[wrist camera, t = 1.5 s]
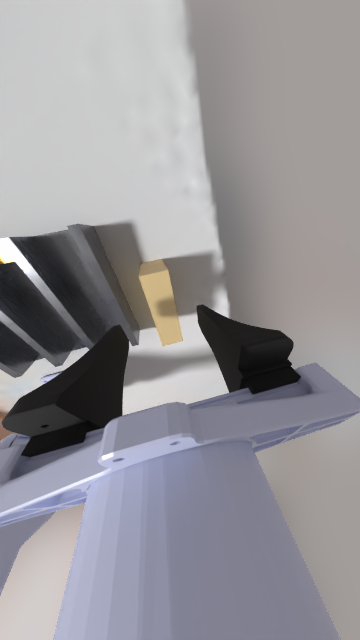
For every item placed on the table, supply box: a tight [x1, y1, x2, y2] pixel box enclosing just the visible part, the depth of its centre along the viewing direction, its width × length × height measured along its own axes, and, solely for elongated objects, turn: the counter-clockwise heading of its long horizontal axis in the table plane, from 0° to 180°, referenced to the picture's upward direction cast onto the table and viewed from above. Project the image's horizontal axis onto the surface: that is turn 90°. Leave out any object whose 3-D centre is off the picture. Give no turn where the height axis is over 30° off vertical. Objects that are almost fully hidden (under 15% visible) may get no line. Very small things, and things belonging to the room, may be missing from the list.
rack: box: [0, 224, 140, 378], centre depth 17 cm, size 16×19×4 cm
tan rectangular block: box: [139, 259, 183, 346], centre depth 19 cm, size 10×3×7 cm, turn 9°
